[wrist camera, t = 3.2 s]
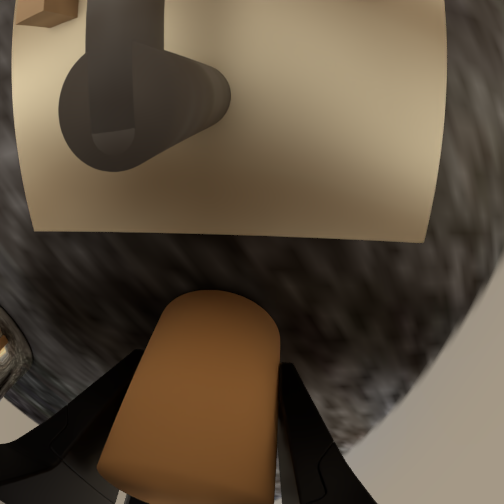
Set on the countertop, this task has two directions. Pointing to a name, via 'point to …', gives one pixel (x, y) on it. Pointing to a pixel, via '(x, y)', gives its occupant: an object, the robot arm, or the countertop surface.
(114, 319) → the countertop surface
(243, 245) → the countertop surface
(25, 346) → the silver tall piece
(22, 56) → the hook board
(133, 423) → the orange rounded capsule
